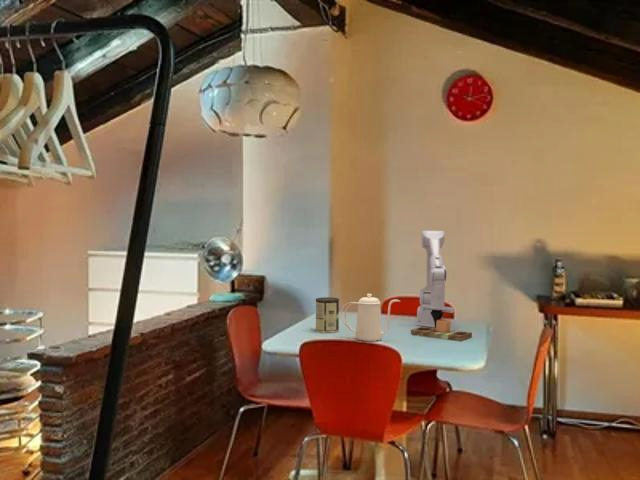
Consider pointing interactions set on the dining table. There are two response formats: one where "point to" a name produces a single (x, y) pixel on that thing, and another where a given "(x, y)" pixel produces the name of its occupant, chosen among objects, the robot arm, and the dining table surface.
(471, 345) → the dining table surface
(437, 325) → the block
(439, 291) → the robot arm
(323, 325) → the coffee can
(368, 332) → the coffeepot
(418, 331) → the board
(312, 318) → the dining table surface
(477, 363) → the dining table surface
